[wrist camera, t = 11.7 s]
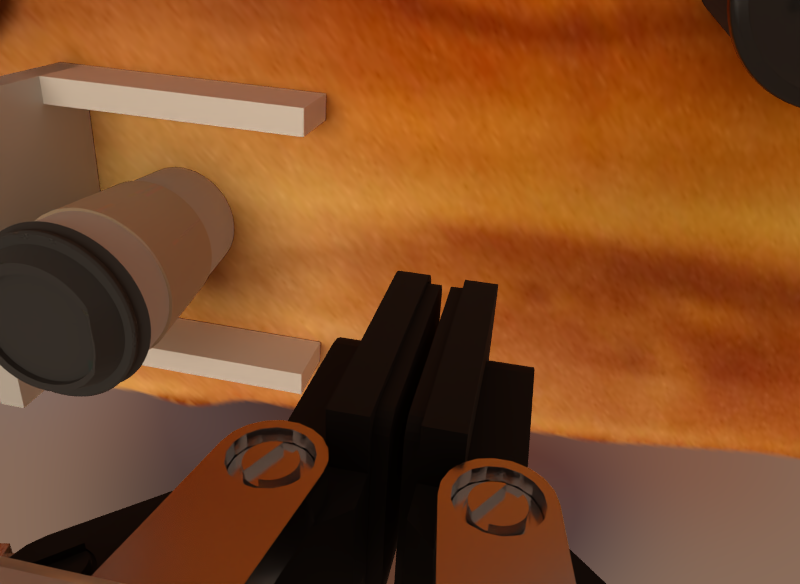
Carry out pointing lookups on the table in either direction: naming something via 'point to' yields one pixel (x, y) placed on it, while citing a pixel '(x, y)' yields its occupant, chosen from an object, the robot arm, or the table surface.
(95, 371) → the coffee cup
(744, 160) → the table surface
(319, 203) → the table surface
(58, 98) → the box
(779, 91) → the drinking cup
